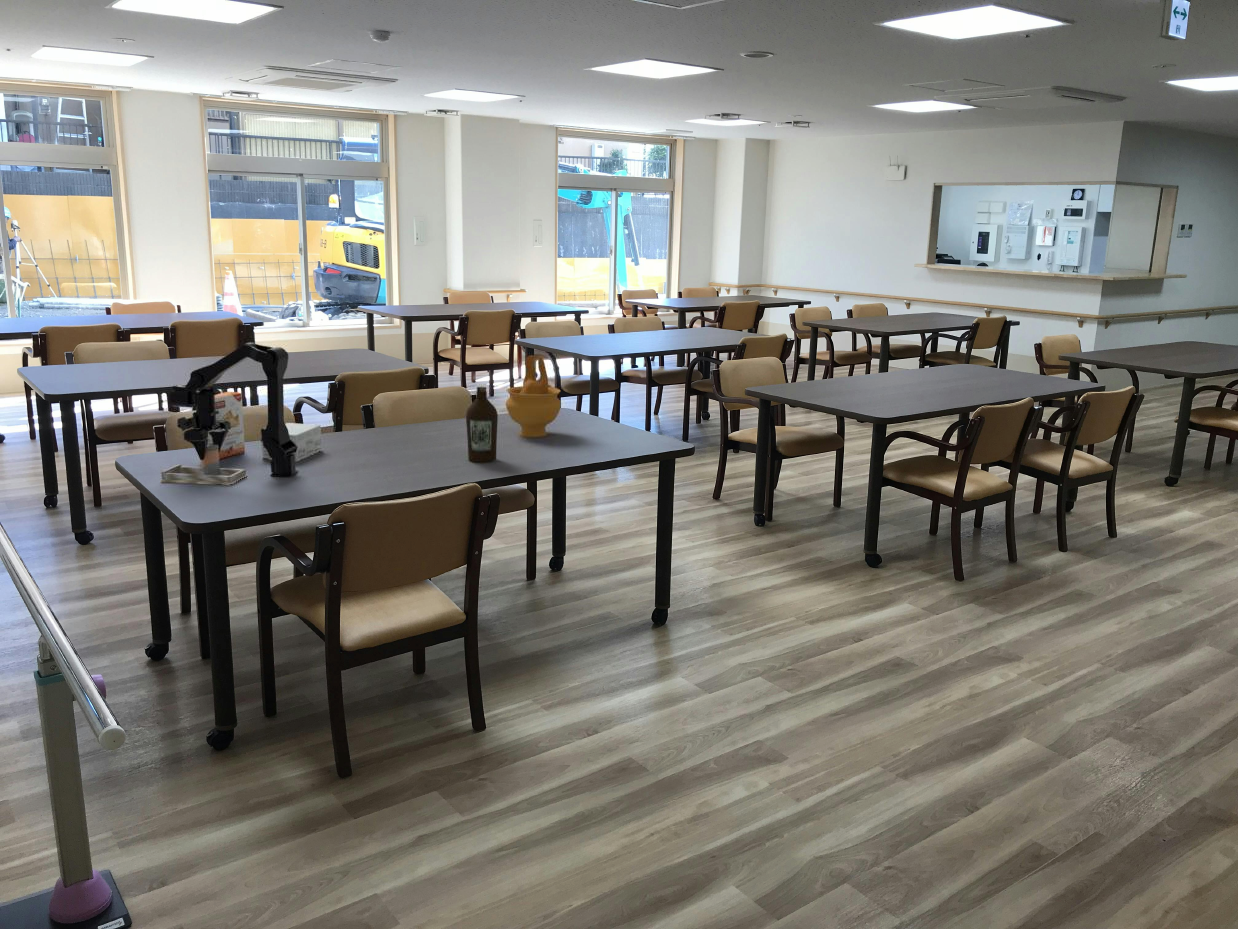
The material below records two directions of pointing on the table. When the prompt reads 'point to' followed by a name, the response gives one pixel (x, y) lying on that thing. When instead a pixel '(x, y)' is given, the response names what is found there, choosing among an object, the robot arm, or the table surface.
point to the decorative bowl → (533, 401)
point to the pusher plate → (212, 469)
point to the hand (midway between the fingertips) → (209, 456)
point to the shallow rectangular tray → (201, 475)
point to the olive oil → (481, 429)
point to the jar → (210, 455)
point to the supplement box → (302, 440)
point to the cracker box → (233, 413)
